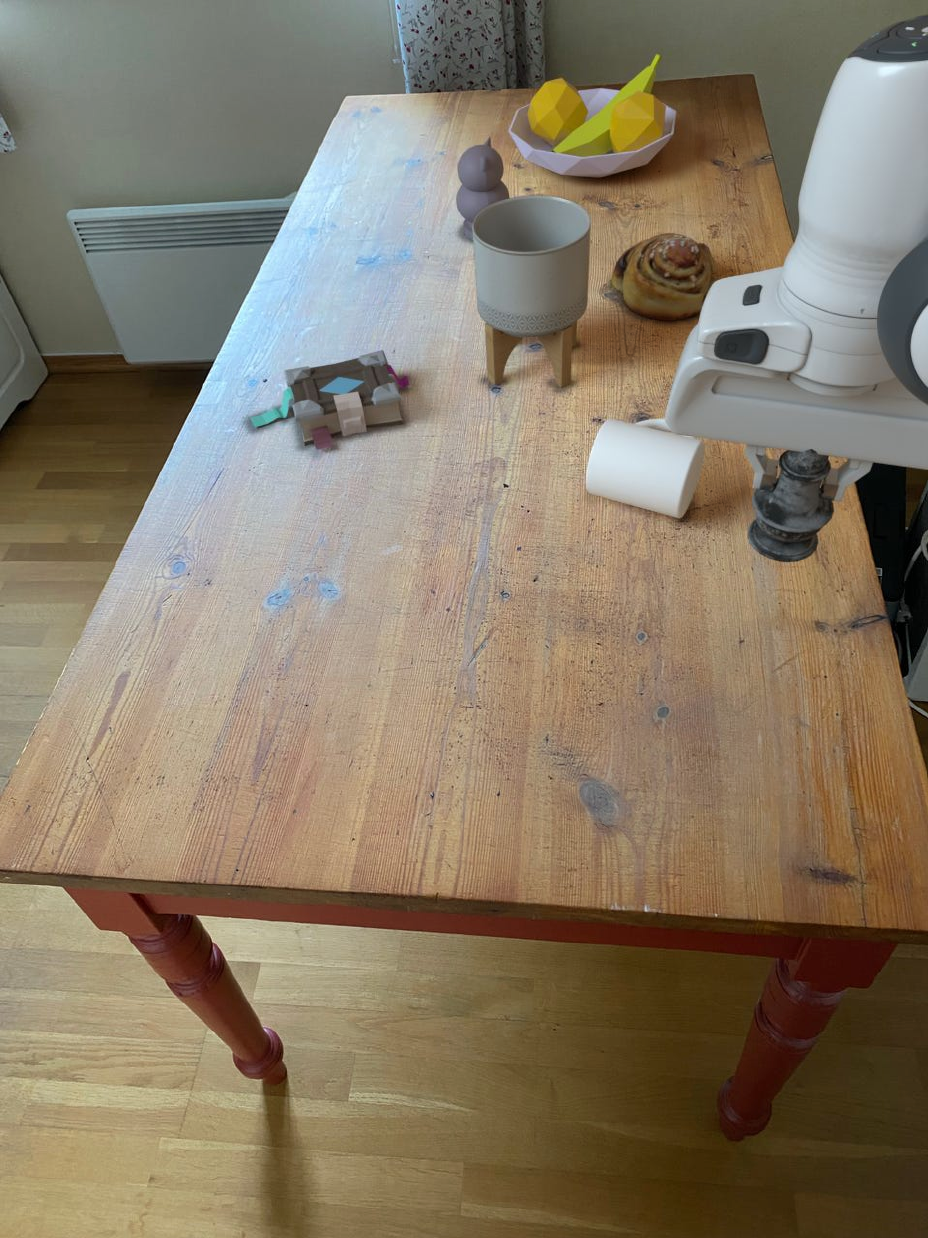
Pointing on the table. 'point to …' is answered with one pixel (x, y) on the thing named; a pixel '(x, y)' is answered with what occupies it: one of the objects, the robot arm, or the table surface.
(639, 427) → the mug
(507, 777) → the table surface
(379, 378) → the book
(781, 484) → the chess piece
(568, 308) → the planter
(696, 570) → the table surface
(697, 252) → the pastry
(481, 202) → the grey bird figurine
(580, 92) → the fruit bowl
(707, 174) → the table surface
